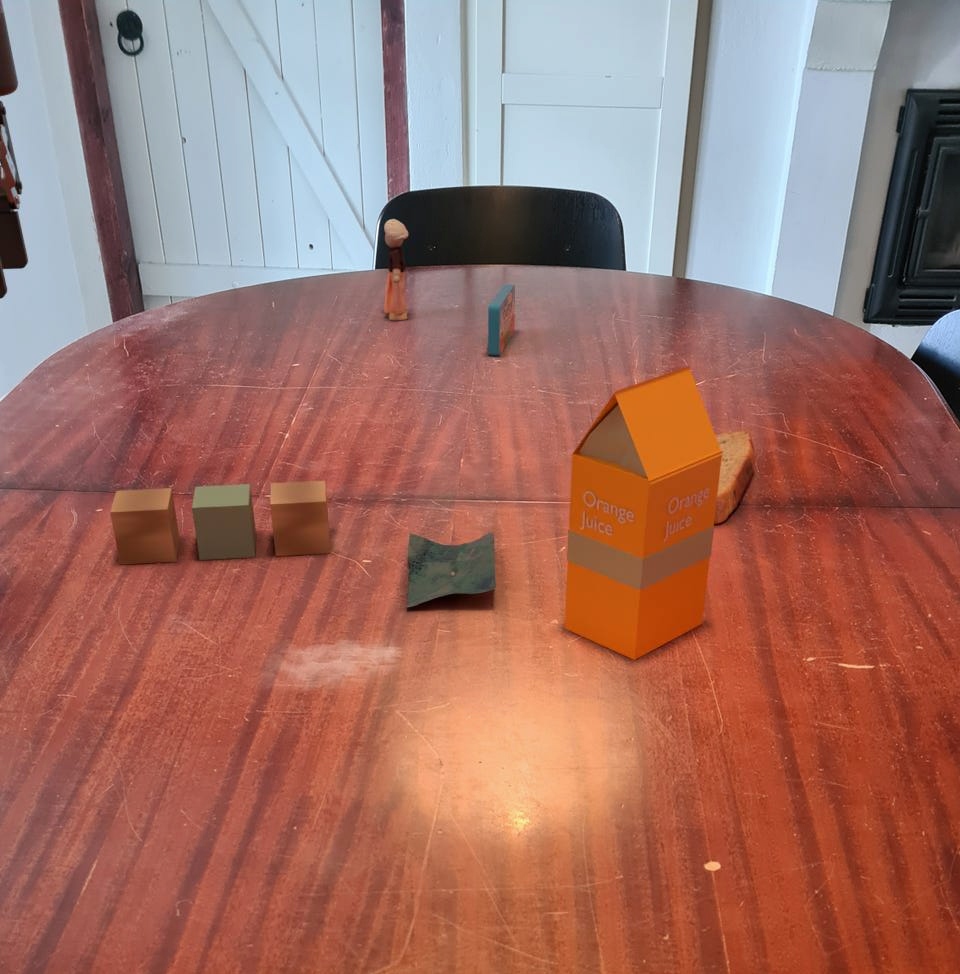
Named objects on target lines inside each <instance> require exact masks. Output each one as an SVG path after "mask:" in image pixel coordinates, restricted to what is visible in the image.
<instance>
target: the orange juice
mask: <svg viewBox="0 0 960 974" xmlns="http://www.w3.org/2000/svg"><path fill="white" fill-rule="evenodd" d="M690 367H691V365H687V366H685V367H682V368H679V369H676V370H673V371H670V372H667V373H665V374H662V375H659V376H656V377H653V378H650V379H647V380H644V381H642V382H638V383H635V384H633V385H630V386H627V387H624V388H621V389H618V390H615V391H614V392H613V394H612V395H611V397H610V398H609V400H608V401H607V403H606V404H605V406H604V407H603V409H602V410H601V412H600V413H599V415H597V417H596V418H595V420H594V422H593V423H592V425H591V426H590V427H589V429H588V431H586V433H585V435H584V436H583V438H582V439H581V441H580V442H579V444H578V445H577V446H576V448H575V449H574V451H573V452H572V454H571V475H570V496H569V517H568V519H569V520H568V522H569V523H568V529H567V546H566V561H567V564H566V586H565V587H566V589H565V608H564V609H565V612H564V629H566V630H568V631H569V632H571V633H574V634H576V635H578V636H580V637H583V638H585V639H587V640H589V641H592V642H594V643H596V644H598V645H601V646H603V647H604V648H607V649H609V650H611V651H614V652H616V653H617V654H621V655H622V656H625V657H627V658H629V659H631V660H634V661H636V660H637V659H639V658H641V657H643V656H644V655H647V654H648V653H650V652H652V651H654V650H656V649H658V648H659V647H661V646H664V645H666V644H667V643H669V642H671V641H673V640H674V639H677V638H678V637H680V636H682V635H684V634H686V633H688V632H690V631H692V630H693V629H696V628H697V627H699V626H701V625H702V624H703V618H704V612H705V611H704V609H705V601H706V594H707V586H708V576H709V568H710V562H711V561H710V560H711V559H710V558H711V557H712V548H713V541H714V532H715V524H714V519H715V510H716V502H717V494H718V485H719V477H720V468H721V460H722V455H723V454H722V452H723V450H721V449H720V446H719V443H718V441H717V438H716V436H715V435H716V433H715V431H714V428H713V426H712V422H711V419H710V418H709V414H708V412H707V409H706V407H705V404H704V401H703V398H702V396H701V394H700V392H699V389H698V385H697V384H696V381H695V378H694V375H693V373H692V370H691V368H690Z"/></svg>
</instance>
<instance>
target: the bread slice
mask: <svg viewBox="0 0 960 974" xmlns="http://www.w3.org/2000/svg"><path fill="white" fill-rule="evenodd" d="M715 436H716V438H717V441H718V443H719V446H720V449H721V450H723V452H722V454H723V455H722V460H721V468H720V477H719V485H718V494H717V502H716V510H715V519H714V525H717V524H721V523H723V522H724V521H726V520H727V519H728V517H729V515H731V514H732V512H733V511H734V510H735V509H737V508H738V504H739V502H740V501H741V499H742V495H743V494H744V492H745V489H746V487H747V485H748V484H749V482H750V479H751V477H752V475H753V472H754V468H755V465H756V462H757V461H756V460H757V457H756V456H757V455H756V452H755V445H754V443H753V439H752V436H751V434H750V432H749V430H747V429H744V430H734V431H732V432H723V433H720V434H715Z"/></svg>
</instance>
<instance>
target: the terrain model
mask: <svg viewBox="0 0 960 974" xmlns="http://www.w3.org/2000/svg"><path fill="white" fill-rule="evenodd" d="M495 548H496V547H495V532H494V531H492V532H489V533H487V534H484V535H483V536H481V537H479V538H478V539H475V540H473V541H469V542H465V543H464V542H463V543H461V544H458V545H452V544H442V543H440V542H436V541H433V540H431V539H428V538H426V537H424V536H420V535H418V534H414V533H409V537H408V543H407V563H408V564H407V565H408V586H407V587H408V588H407V601H406V608H411V607H415V606H418V605H420V604H423V603H426V602H428V601H431V600H434V599H437V598H440V597H444V596H449V595H453V594H469V595H475V594H481V593H486V592H490V591H492V590H494V589H496V588H497V583H496V581H497V580H496V553H495V552H496V550H495Z"/></svg>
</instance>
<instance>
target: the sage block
mask: <svg viewBox="0 0 960 974" xmlns="http://www.w3.org/2000/svg"><path fill="white" fill-rule="evenodd" d="M251 488H252V487H251V483H240V484H239V483H238V484H223V485H222V484H221V485H220V484H219V485H202V486H200V485H199V486H195V487H194V493H193V497H192V498H193V499H192V505H191V512H192V519H193V525H194V532H195V538H196V545H197V551H198V558H199V561H210V560H212V561H213V560H227V559H247V558H256V547H257V529H256V522H255V513H254V504H253V497H252V489H251Z"/></svg>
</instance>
